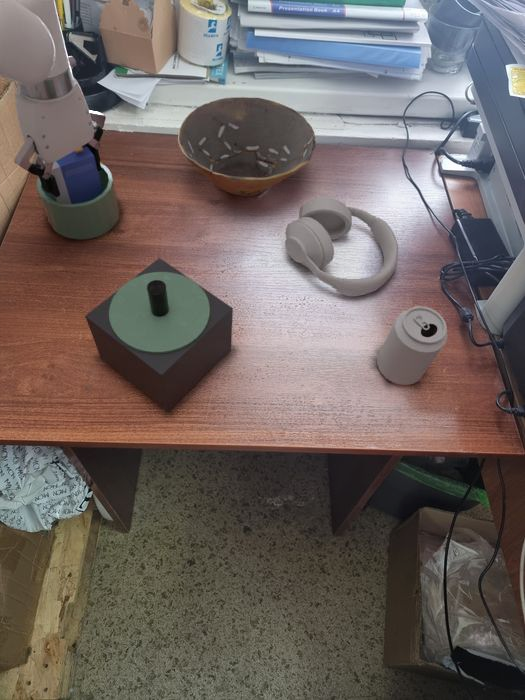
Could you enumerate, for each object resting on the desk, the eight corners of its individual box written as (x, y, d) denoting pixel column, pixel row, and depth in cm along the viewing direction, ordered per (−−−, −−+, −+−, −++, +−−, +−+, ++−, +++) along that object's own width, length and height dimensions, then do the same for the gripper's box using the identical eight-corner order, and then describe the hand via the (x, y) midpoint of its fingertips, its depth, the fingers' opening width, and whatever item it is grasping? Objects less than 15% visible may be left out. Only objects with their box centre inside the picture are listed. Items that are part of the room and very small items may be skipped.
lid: (161, 372, 64) (157, 350, 59) (88, 315, 67) (79, 290, 63) (230, 308, 70) (231, 283, 65) (159, 259, 73) (155, 233, 69)
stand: (168, 413, 73) (161, 375, 63) (100, 358, 76) (84, 315, 67) (231, 350, 79) (233, 308, 70) (165, 303, 83) (159, 257, 74)
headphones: (265, 264, 88) (366, 321, 87) (275, 235, 81) (384, 295, 80) (308, 203, 97) (400, 253, 96) (320, 171, 91) (419, 225, 89)
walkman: (100, 200, 94) (86, 144, 84) (106, 209, 93) (93, 153, 83) (59, 216, 91) (40, 159, 81) (66, 225, 90) (47, 169, 80)
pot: (81, 250, 88) (71, 217, 81) (34, 216, 91) (20, 182, 85) (133, 213, 93) (127, 180, 87) (87, 182, 97) (78, 148, 90)
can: (400, 396, 77) (428, 355, 67) (365, 362, 80) (387, 318, 70) (432, 370, 80) (463, 327, 70) (397, 339, 83) (422, 293, 73)
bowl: (312, 150, 107) (321, 106, 99) (300, 232, 94) (309, 189, 86) (196, 131, 108) (194, 85, 99) (167, 210, 94) (163, 165, 86)
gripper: (75, 45, 76) (98, 146, 91) (-27, 92, 68) (16, 194, 83) (110, 65, 74) (127, 165, 89) (9, 115, 66) (47, 217, 80)
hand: (74, 179), depth 85 cm, fingers closed on walkman, 8 cm apart
